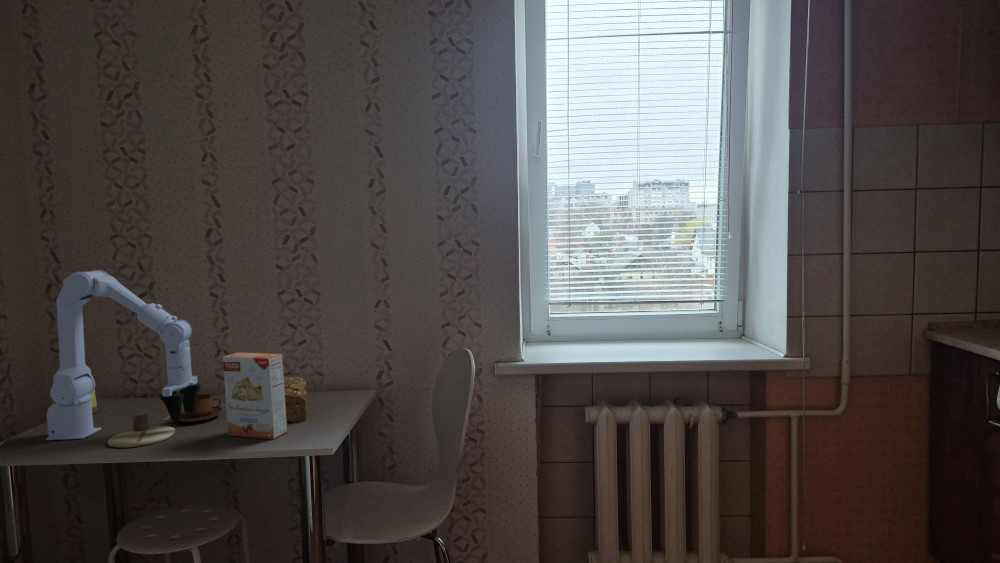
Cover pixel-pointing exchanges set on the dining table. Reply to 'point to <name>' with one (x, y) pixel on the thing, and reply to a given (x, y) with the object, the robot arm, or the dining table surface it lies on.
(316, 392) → the dining table surface
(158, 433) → the cream disc with block
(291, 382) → the bread
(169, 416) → the tape mark left
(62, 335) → the robot arm
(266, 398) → the cracker box
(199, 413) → the cup and saucer
